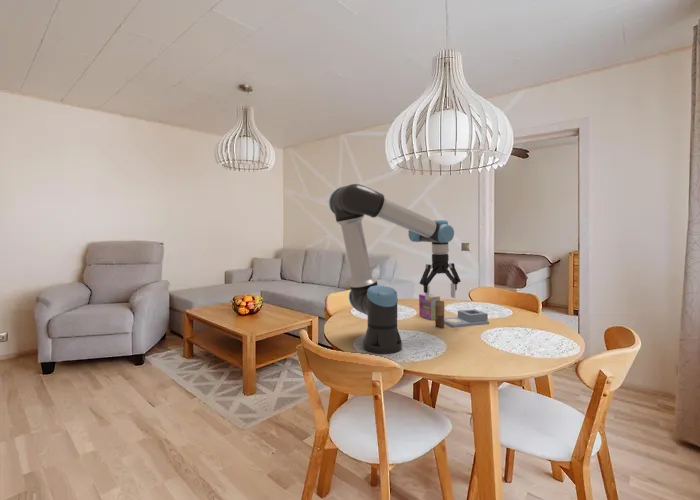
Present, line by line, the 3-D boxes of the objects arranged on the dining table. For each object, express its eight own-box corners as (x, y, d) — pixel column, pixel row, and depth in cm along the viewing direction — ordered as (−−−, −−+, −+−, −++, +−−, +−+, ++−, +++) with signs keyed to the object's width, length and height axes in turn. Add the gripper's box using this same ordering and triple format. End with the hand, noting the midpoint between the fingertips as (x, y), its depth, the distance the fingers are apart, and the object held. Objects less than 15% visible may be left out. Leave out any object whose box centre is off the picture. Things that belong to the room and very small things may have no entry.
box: (418, 315, 185) (418, 293, 184) (427, 314, 187) (427, 292, 187) (431, 320, 176) (431, 297, 175) (440, 319, 178) (440, 296, 177)
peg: (445, 327, 163) (445, 302, 162) (438, 328, 162) (438, 302, 161) (441, 325, 167) (441, 300, 166) (433, 326, 165) (433, 301, 165)
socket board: (488, 323, 168) (489, 314, 168) (452, 327, 163) (452, 317, 162) (473, 317, 180) (473, 308, 179) (439, 321, 174) (439, 311, 174)
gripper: (458, 251, 169) (458, 294, 170) (412, 254, 162) (412, 299, 163) (468, 252, 162) (468, 297, 163) (419, 255, 155) (420, 302, 156)
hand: (440, 298), depth 163 cm, fingers open, 13 cm apart
